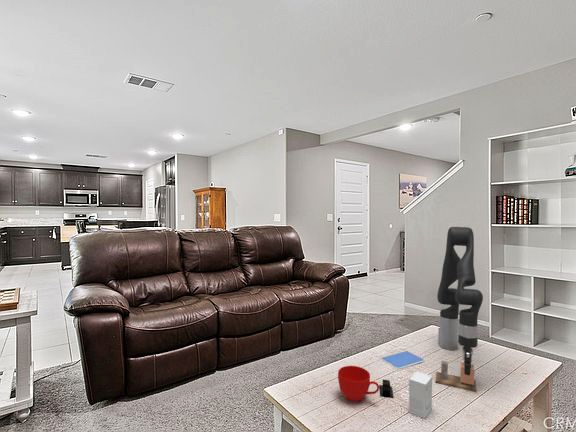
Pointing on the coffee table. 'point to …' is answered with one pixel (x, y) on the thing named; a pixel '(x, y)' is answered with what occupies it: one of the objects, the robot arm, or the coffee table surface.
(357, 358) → the coffee table surface
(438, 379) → the board
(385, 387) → the black knobbed base
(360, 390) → the ceramic cup
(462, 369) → the salmon pink cube
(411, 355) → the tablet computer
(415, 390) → the small box
